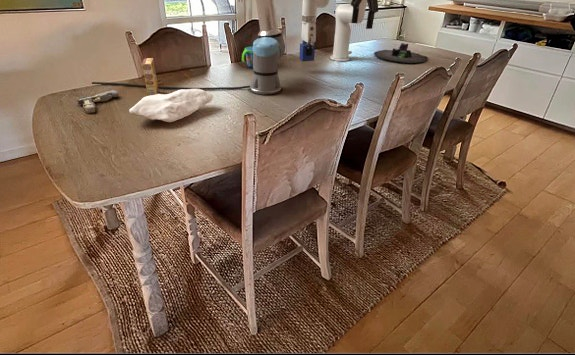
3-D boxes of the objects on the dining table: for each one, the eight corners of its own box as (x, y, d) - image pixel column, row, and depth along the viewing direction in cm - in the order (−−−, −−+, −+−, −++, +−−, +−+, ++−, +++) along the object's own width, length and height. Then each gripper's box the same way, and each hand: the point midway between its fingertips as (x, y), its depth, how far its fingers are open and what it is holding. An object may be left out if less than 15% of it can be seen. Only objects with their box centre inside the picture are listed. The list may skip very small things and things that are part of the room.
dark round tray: (438, 59, 239) (441, 44, 234) (403, 65, 221) (405, 50, 217) (397, 50, 264) (399, 37, 259) (362, 56, 246) (363, 42, 242)
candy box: (157, 97, 164) (152, 63, 155) (147, 98, 163) (141, 63, 155) (158, 91, 171) (153, 57, 163) (149, 91, 170) (143, 58, 162)
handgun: (128, 97, 156) (111, 87, 164) (86, 107, 144) (70, 97, 152) (129, 103, 157) (113, 94, 165) (88, 114, 146) (72, 103, 154)
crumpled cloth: (117, 110, 146) (113, 90, 140) (195, 92, 166) (194, 73, 160) (143, 139, 134) (140, 118, 128) (223, 116, 154) (224, 96, 148)
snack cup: (261, 62, 218) (261, 45, 213) (270, 67, 211) (270, 49, 205) (237, 65, 211) (237, 47, 205) (246, 70, 203) (246, 51, 198)
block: (314, 60, 202) (315, 45, 197) (302, 61, 200) (303, 45, 195) (310, 58, 206) (311, 43, 201) (299, 59, 204) (299, 43, 199)
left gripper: (392, -25, 147) (383, 30, 159) (361, -29, 167) (355, 20, 178) (376, -25, 145) (368, 31, 157) (347, -30, 165) (341, 21, 176)
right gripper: (321, 21, 186) (319, 58, 196) (309, 16, 199) (307, 50, 209) (308, 22, 183) (306, 58, 193) (296, 16, 197) (295, 50, 207)
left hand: (361, 25), depth 167 cm, fingers open, 13 cm apart
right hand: (306, 54), depth 201 cm, fingers closed on block, 4 cm apart
